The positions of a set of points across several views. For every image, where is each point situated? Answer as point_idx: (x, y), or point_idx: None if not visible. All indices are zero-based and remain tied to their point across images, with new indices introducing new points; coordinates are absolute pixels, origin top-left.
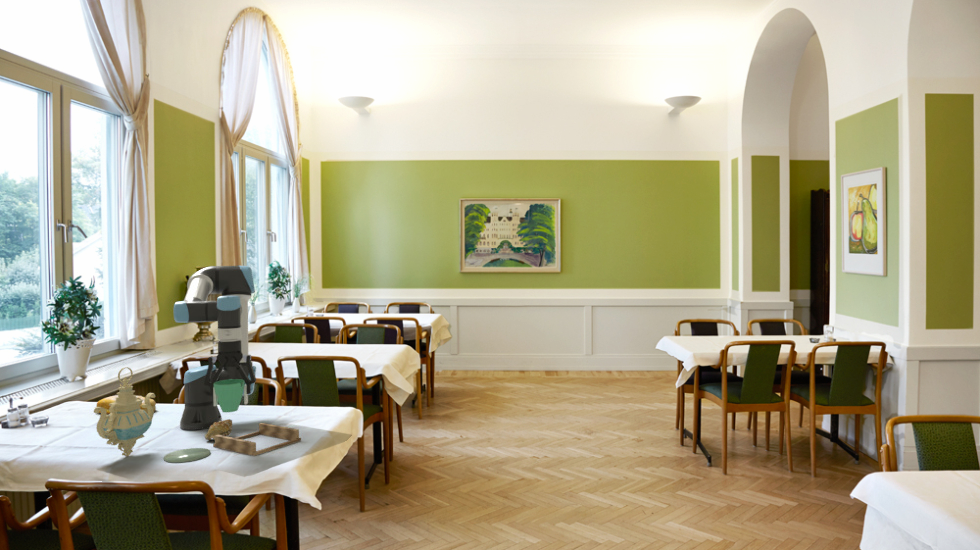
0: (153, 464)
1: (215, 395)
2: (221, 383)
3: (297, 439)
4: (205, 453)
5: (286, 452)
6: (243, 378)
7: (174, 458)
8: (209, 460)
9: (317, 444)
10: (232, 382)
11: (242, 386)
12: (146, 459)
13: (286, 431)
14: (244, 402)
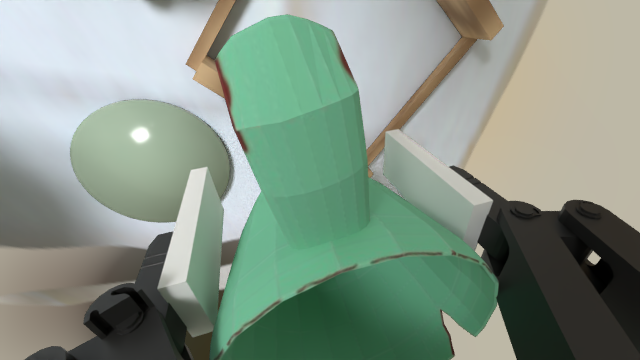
0: (104, 231)
1: (218, 264)
2: (242, 298)
3: (471, 44)
4: (217, 164)
5: (429, 146)
6: (510, 320)
7: (143, 205)
8: (254, 200)
9: (506, 81)
10: (359, 234)
11: (448, 298)
12: (24, 195)
13: (459, 2)
14: (389, 179)
